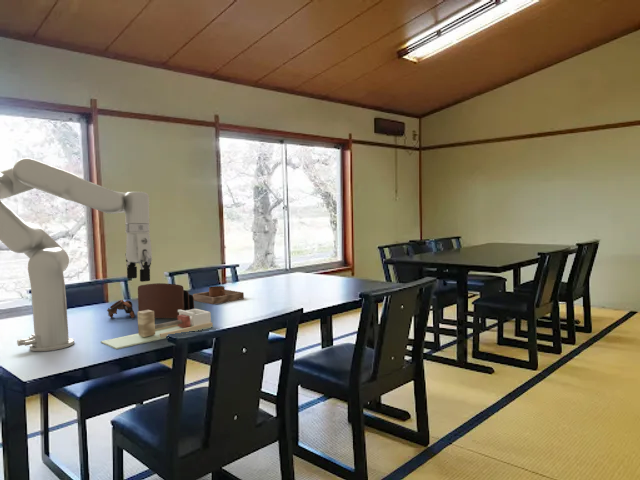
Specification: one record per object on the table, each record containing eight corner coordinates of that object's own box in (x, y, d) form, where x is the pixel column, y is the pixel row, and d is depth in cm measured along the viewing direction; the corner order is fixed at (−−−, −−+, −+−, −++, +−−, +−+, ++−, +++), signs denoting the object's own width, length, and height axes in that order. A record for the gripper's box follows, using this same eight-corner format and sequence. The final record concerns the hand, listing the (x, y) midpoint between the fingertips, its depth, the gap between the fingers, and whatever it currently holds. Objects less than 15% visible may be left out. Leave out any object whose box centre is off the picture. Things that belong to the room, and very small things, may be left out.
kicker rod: (144, 337, 160) (143, 313, 160) (137, 334, 164) (136, 311, 163) (190, 327, 173) (189, 305, 172) (183, 325, 176) (181, 303, 176)
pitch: (116, 349, 150) (115, 329, 150) (100, 342, 159) (99, 323, 158) (212, 327, 175) (212, 310, 175) (195, 322, 184) (194, 306, 183)
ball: (195, 314, 175) (200, 322, 176) (190, 313, 177) (195, 320, 179) (188, 321, 173) (193, 329, 174) (183, 320, 175) (188, 327, 177)
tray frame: (213, 304, 219) (213, 297, 218) (193, 300, 230) (192, 294, 230) (243, 298, 231) (243, 292, 230) (223, 295, 243) (222, 289, 242)
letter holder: (184, 318, 192) (182, 283, 191) (138, 318, 195) (136, 283, 194) (194, 313, 201) (193, 279, 200) (150, 313, 205) (149, 280, 204)
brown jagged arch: (131, 321, 192) (119, 304, 190) (112, 331, 194) (100, 314, 192) (143, 307, 204) (131, 291, 202) (125, 316, 205) (113, 301, 203)
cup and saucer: (234, 298, 233) (234, 285, 233) (219, 303, 222) (219, 289, 222) (214, 297, 238) (214, 284, 238) (198, 301, 227) (198, 288, 227)
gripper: (160, 229, 158) (161, 281, 159) (137, 228, 170) (137, 276, 171) (138, 229, 153) (139, 283, 154) (115, 228, 165) (116, 278, 166)
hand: (138, 279), depth 163 cm, fingers open, 9 cm apart
